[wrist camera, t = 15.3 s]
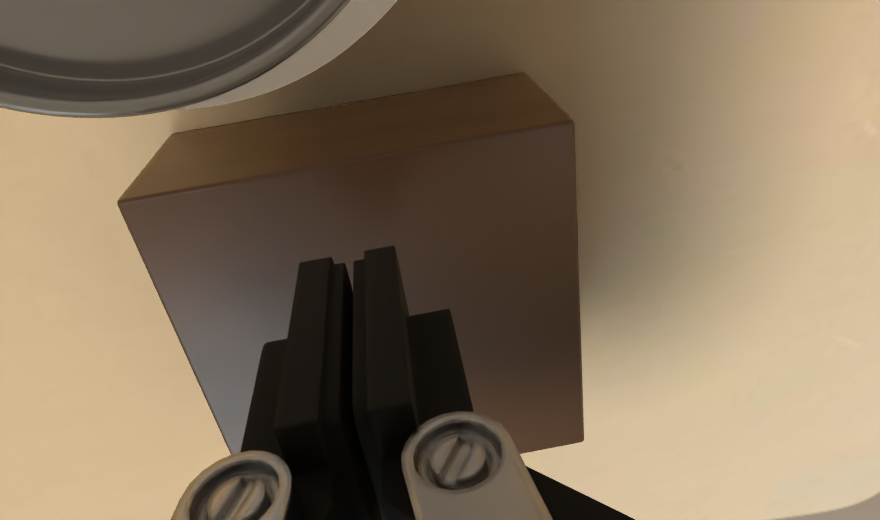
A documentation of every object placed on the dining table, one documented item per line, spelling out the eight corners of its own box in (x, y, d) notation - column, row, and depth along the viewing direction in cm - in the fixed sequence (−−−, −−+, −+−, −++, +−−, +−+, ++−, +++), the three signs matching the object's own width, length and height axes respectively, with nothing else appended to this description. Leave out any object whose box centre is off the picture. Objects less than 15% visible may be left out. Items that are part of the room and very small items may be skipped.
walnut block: (170, 133, 17) (114, 201, 13) (526, 71, 17) (575, 119, 13) (271, 400, 22) (253, 506, 18) (545, 349, 22) (585, 442, 18)
